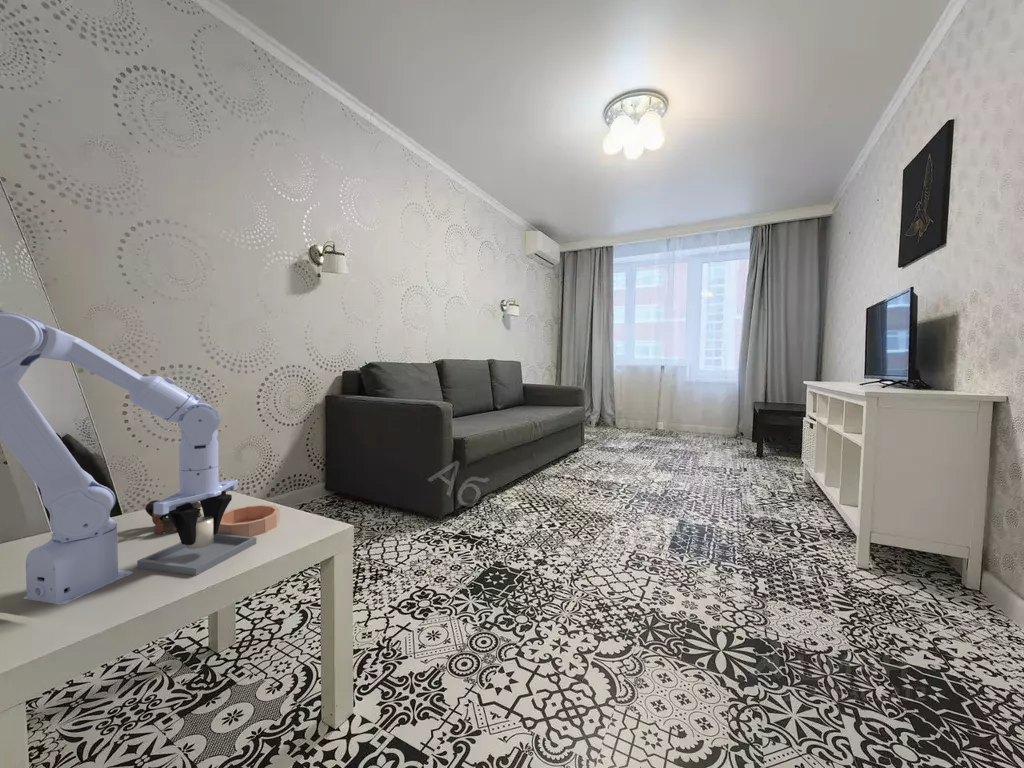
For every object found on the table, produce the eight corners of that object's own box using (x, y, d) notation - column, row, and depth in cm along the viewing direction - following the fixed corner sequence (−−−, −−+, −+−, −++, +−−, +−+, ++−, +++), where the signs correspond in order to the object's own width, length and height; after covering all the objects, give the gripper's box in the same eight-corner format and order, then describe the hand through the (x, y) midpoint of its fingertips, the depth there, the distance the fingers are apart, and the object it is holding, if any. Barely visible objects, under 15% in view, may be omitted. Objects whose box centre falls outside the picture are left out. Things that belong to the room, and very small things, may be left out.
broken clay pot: (215, 519, 93) (212, 495, 89) (183, 554, 85) (177, 529, 81) (164, 507, 92) (158, 482, 88) (126, 540, 84) (118, 514, 80)
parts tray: (196, 579, 66) (196, 568, 66) (137, 570, 69) (137, 560, 69) (256, 546, 79) (256, 537, 79) (204, 540, 81) (204, 531, 81)
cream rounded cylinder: (198, 549, 71) (198, 525, 71) (180, 547, 72) (180, 523, 72) (218, 540, 75) (218, 517, 75) (201, 538, 76) (201, 515, 76)
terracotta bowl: (248, 544, 80) (248, 527, 79) (200, 538, 82) (200, 521, 82) (290, 522, 91) (290, 507, 91) (247, 517, 93) (247, 503, 93)
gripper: (177, 479, 65) (178, 559, 66) (250, 459, 79) (250, 525, 80) (143, 476, 66) (144, 554, 67) (221, 457, 81) (221, 522, 81)
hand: (200, 538), depth 74 cm, fingers closed on cream rounded cylinder, 4 cm apart
